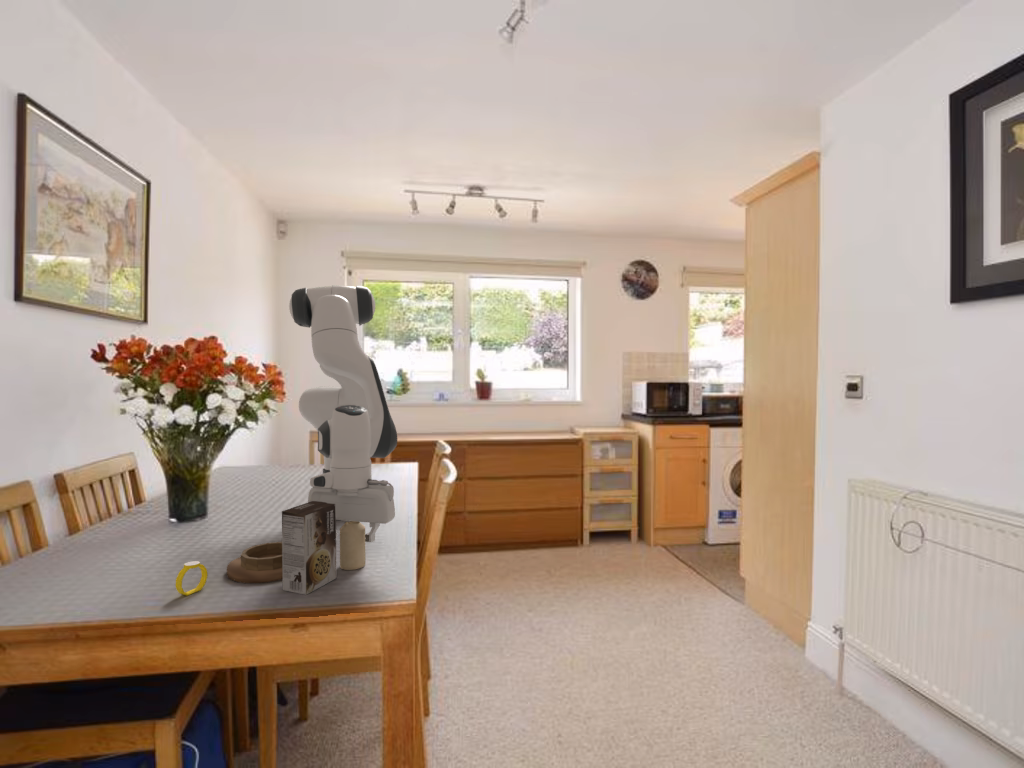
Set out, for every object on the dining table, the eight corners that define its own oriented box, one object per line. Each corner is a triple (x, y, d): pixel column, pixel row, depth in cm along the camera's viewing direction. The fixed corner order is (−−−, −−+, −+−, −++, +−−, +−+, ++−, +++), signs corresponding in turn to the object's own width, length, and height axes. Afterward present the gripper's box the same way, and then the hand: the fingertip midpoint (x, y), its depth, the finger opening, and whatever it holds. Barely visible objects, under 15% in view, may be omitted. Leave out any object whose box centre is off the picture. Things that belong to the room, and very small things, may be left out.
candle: (358, 571, 117) (357, 526, 117) (335, 569, 118) (335, 524, 118) (369, 562, 123) (369, 519, 122) (347, 560, 124) (347, 517, 124)
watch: (199, 587, 109) (201, 558, 109) (209, 589, 108) (211, 559, 108) (172, 597, 103) (173, 565, 104) (182, 599, 103) (183, 567, 103)
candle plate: (264, 552, 129) (263, 535, 129) (326, 558, 125) (325, 541, 125) (207, 578, 113) (207, 559, 113) (277, 587, 109) (276, 567, 109)
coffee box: (313, 574, 115) (312, 500, 115) (337, 578, 113) (337, 503, 113) (280, 590, 107) (280, 510, 107) (306, 595, 105) (305, 513, 104)
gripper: (400, 478, 120) (400, 539, 120) (320, 473, 125) (320, 532, 126) (386, 483, 114) (386, 548, 114) (303, 478, 119) (303, 540, 119)
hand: (351, 539), depth 120 cm, fingers open, 8 cm apart
